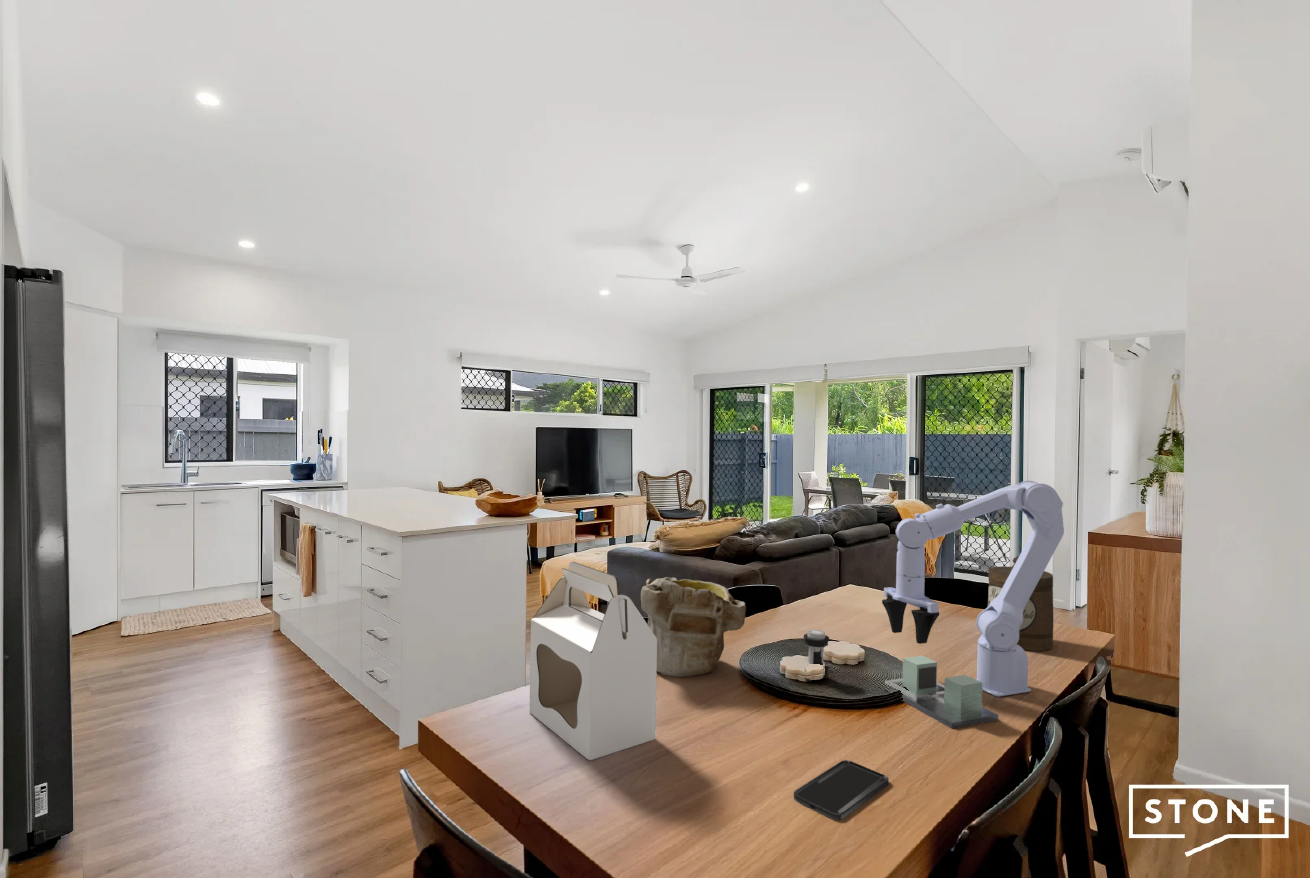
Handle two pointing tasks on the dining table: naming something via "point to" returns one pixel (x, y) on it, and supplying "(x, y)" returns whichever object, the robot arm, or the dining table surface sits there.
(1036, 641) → the wooden container
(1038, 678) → the dining table surface
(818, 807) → the phone
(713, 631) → the ceramic vessel
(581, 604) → the gable box
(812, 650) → the push button
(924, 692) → the block
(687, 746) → the dining table surface
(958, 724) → the rail
